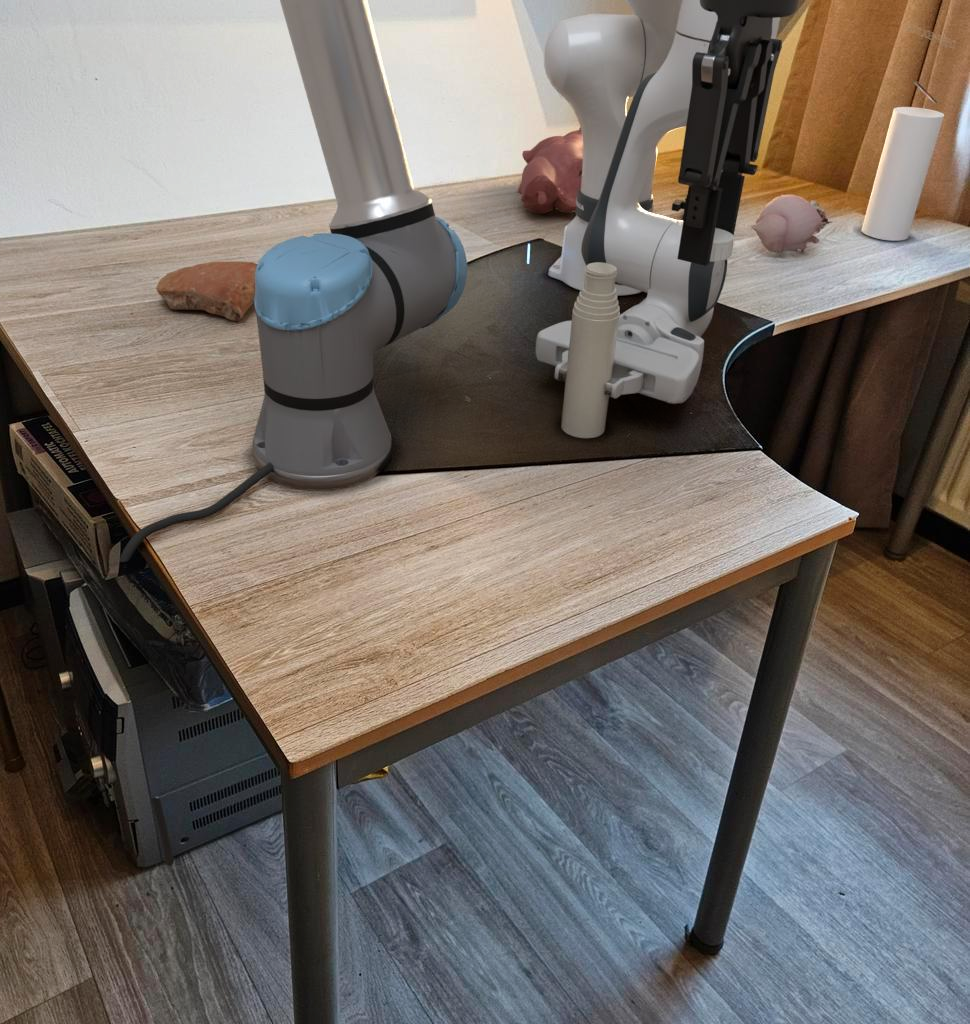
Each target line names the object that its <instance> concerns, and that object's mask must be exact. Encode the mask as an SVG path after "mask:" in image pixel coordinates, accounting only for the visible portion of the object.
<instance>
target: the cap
mask: <svg viewBox="0 0 970 1024" xmlns="http://www.w3.org/2000/svg"><path fill="white" fill-rule="evenodd" d="M734 239H735V235H734V236H733V235H732V234H731V233H730V232H728V231H725V230H722V229H718V228H715V234H714V239H713V245H712V251H711V256H710V262H717V261H724V260H727V261H728V260H729V259H730V258H731V256H732V254H733V250H734V249H733V248H734V243H735V242H734Z"/></svg>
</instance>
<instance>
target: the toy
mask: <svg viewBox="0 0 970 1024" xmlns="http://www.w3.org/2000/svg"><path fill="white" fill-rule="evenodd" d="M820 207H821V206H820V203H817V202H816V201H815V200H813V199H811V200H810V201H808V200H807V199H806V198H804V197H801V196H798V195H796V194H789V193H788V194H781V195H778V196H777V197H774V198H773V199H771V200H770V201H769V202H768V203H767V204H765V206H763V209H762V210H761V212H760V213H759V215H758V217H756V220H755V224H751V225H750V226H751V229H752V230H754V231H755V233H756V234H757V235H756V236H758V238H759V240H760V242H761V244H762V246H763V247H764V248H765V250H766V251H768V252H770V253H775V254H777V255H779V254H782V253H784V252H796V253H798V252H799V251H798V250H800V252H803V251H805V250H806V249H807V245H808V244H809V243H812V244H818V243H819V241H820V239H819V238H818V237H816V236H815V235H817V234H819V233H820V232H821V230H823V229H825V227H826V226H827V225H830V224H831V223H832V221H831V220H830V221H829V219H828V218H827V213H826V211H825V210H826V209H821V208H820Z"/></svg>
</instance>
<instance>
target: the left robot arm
mask: <svg viewBox="0 0 970 1024" xmlns="http://www.w3.org/2000/svg"><path fill="white" fill-rule="evenodd" d="M799 2H800V0H700V5H701V7H702V8H703V9H704V10H707V11H709V12H715V13H716V14H717V16H718V18H717V19H718V20H717V22H716V26H715V30H714V33H713V36H712V39H711V41H710V44H709V48H708V52H707V53H701V52H696V53H695V55H694V58H693V63H692V90H691V97H690V104H689V111H688V118H687V124H686V127H685V131H684V139H683V146H682V151H681V152H682V153H681V158H680V159H681V160H680V167H679V173H678V176H677V177H678V178H677V182H678V184H680V185H685V186H688V188H687V189H688V190H687V195H686V197H687V201H686V208H685V214H684V213H683V215H684V220H683V219H682V221H683V226H682V233H681V239H680V245H679V252H678V258H677V259H679V260H683V261H687V262H691V263H695V264H699V265H704V266H707V265H708V264H709V262H710V256H711V251H712V245H713V239H714V234H715V228H718V229H722V230H725V231H728V232H730V233H731V234H732V235H733V236H734V237H735V231H736V225H737V219H738V215H739V210H740V205H741V199H742V193H743V188H744V183H745V175H749V176H754V175H756V173H757V171H758V167H759V166H758V165H757V164H753V163H755V162H756V161H757V160H758V158H759V152H760V145H761V141H762V136H763V131H764V126H765V121H766V117H767V110H768V105H769V100H770V97H771V90H772V85H773V81H774V77H775V76H774V74H775V70H776V67H777V64H778V62H779V61H778V60H779V57H780V54H781V51H782V50H783V49H782V48H783V41H782V39H778V38H776V39H771V35H772V21H773V18H779V17H780V18H787V17H791V16H792V15H794V14H796V11H797V9H798V6H799ZM279 3H280V6H281V9H282V13H283V16H284V20H285V24H286V27H287V30H288V35H289V38H290V42H291V44H292V48H293V52H294V55H295V58H296V62H297V66H298V69H299V73H300V77H301V80H302V84H303V87H304V91H305V95H306V98H307V101H308V105H309V108H310V112H311V116H312V120H313V122H314V126H315V130H316V133H317V137H318V141H319V144H320V147H321V151H322V155H323V158H324V162H325V165H326V169H327V172H328V176H329V179H330V184H331V187H332V189H333V194H334V197H335V201H336V205H337V207H336V211H335V212H334V215H333V216H332V218H331V221H330V222H329V224H328V225H329V231H330V232H329V233H326V232H325V233H324V232H323V233H322V232H321V233H313V235H311V236H306V235H299V236H296V237H292V238H289V239H286V240H284V241H282V242H280V243H278V244H276V245H273V246H272V247H271V248H269V249H268V250H267V251H266V252H265V253H264V254H263V255H262V256H261V257H260V259H259V261H258V262H257V264H258V265H257V267H256V271H255V297H254V303H253V305H254V310H255V313H256V322H257V331H258V340H259V349H260V359H261V368H262V379H263V388H264V390H263V391H264V396H263V400H262V404H261V408H260V412H259V415H258V419H257V423H256V427H255V430H254V434H253V439H252V455H253V460H254V464H255V467H256V468H257V471H255V473H252V474H251V475H250V476H249V477H248V478H246V479H245V480H244V481H243V482H242V483H240V484H239V485H238V486H236V487H235V488H234V489H232V490H231V491H230V492H228V493H227V494H225V496H223V497H222V498H221V499H219V500H218V501H216V502H215V503H213V504H211V505H210V506H207V507H204V508H202V509H198V510H192V511H187V512H181V513H176V514H173V515H169V516H167V517H164V518H162V519H159V520H157V521H154V522H152V523H150V524H148V525H146V526H144V527H142V528H140V529H139V530H138V531H137V532H136V533H134V535H133V536H131V538H130V540H129V541H128V542H127V544H126V545H125V546H124V549H123V550H122V552H121V554H120V556H119V559H118V560H119V562H120V563H125V562H128V561H130V560H131V559H132V558H133V555H134V554H135V552H136V550H137V549H138V547H139V546H140V545H141V543H142V542H143V541H145V539H147V538H148V537H149V536H151V535H153V534H155V533H157V532H160V531H162V530H165V529H167V528H169V527H171V526H174V525H177V524H182V523H187V522H194V521H199V520H203V519H206V518H208V517H210V516H214V515H216V514H218V513H219V512H221V511H222V510H224V509H225V508H227V507H228V506H230V505H231V504H232V503H233V502H234V501H236V500H237V499H239V498H240V497H242V496H243V495H244V494H245V493H247V492H248V490H250V489H251V488H253V486H255V485H256V484H257V483H259V482H260V481H262V480H263V479H264V478H268V479H269V480H271V481H273V482H275V483H278V484H280V485H283V486H286V487H290V488H295V489H301V490H312V491H314V490H315V491H323V490H327V491H328V490H337V489H342V488H348V487H351V486H355V485H358V484H361V483H363V482H366V481H368V480H370V479H373V478H374V477H375V476H377V475H378V474H380V473H381V472H382V471H383V470H384V469H385V468H386V467H387V466H388V464H389V463H390V461H391V458H392V436H391V435H392V434H391V432H390V430H389V427H388V424H387V422H386V419H385V417H384V413H383V411H382V408H381V406H380V403H379V400H378V398H377V395H376V393H375V385H374V354H375V352H377V351H379V350H380V349H382V348H385V347H387V346H389V345H391V344H393V343H394V342H397V341H399V340H400V339H402V338H404V337H406V336H408V335H410V334H412V333H414V332H416V331H418V330H420V329H425V328H428V327H430V326H431V325H433V324H435V323H436V322H437V321H439V320H440V319H441V318H442V317H443V316H445V315H446V314H448V313H449V312H450V311H451V310H452V309H453V308H454V307H455V306H456V305H457V303H458V302H459V300H460V299H461V296H462V295H463V293H464V291H465V288H466V284H467V279H468V278H467V276H468V261H467V255H466V251H465V248H464V245H463V243H462V240H461V237H460V236H459V234H458V233H457V232H456V230H454V229H451V228H450V224H449V223H448V222H447V221H446V220H444V219H443V218H440V217H439V216H436V214H435V209H434V206H433V200H432V198H431V197H429V196H427V195H426V194H424V193H423V192H422V191H420V190H418V189H417V187H416V186H415V184H414V182H413V177H412V174H411V170H410V166H409V163H408V162H409V161H408V158H407V154H406V150H405V145H404V143H403V139H402V138H403V137H402V133H401V129H400V126H399V122H398V118H397V114H396V110H395V105H394V102H393V98H392V94H391V89H390V86H389V82H388V78H387V74H386V70H385V66H384V63H383V62H384V61H383V58H382V55H381V49H380V46H379V42H378V38H377V34H376V30H375V27H374V22H373V19H372V14H371V10H370V6H369V3H368V0H279ZM750 162H751V163H750ZM722 169H723V172H722ZM743 174H744V175H743ZM150 799H151V804H152V807H153V812H154V815H155V816H154V817H155V820H156V824H157V829H158V833H159V837H160V842H161V846H162V847H161V848H162V851H163V857H164V862H165V865H166V866H167V867H168V866H172V865H173V864H174V863H175V861H174V856H173V850H172V845H171V839H170V835H169V832H168V827H167V823H166V818H165V814H164V810H163V805H162V800H161V798H156V797H150Z"/></svg>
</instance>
